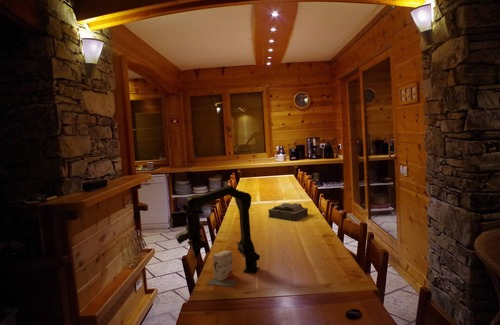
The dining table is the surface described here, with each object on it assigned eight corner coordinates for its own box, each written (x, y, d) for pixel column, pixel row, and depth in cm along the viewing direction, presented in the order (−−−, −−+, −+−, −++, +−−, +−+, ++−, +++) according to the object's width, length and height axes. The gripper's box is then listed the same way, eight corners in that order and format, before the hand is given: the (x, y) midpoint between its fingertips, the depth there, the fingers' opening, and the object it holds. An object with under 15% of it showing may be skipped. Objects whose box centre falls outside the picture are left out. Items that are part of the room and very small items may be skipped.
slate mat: (211, 279, 164) (211, 278, 164) (237, 281, 160) (237, 281, 160) (206, 284, 158) (206, 284, 158) (233, 287, 155) (233, 286, 155)
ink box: (225, 273, 170) (224, 249, 169) (233, 275, 167) (232, 251, 166) (213, 278, 163) (212, 254, 162) (220, 281, 160) (219, 256, 159)
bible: (290, 223, 249) (289, 210, 248) (265, 217, 270) (264, 204, 269) (311, 216, 264) (311, 204, 263) (286, 211, 285) (285, 199, 283)
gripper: (172, 221, 161) (175, 254, 163) (179, 232, 144) (182, 268, 146) (196, 218, 165) (198, 249, 167) (205, 228, 148) (208, 263, 150)
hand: (196, 257), depth 157 cm, fingers closed
